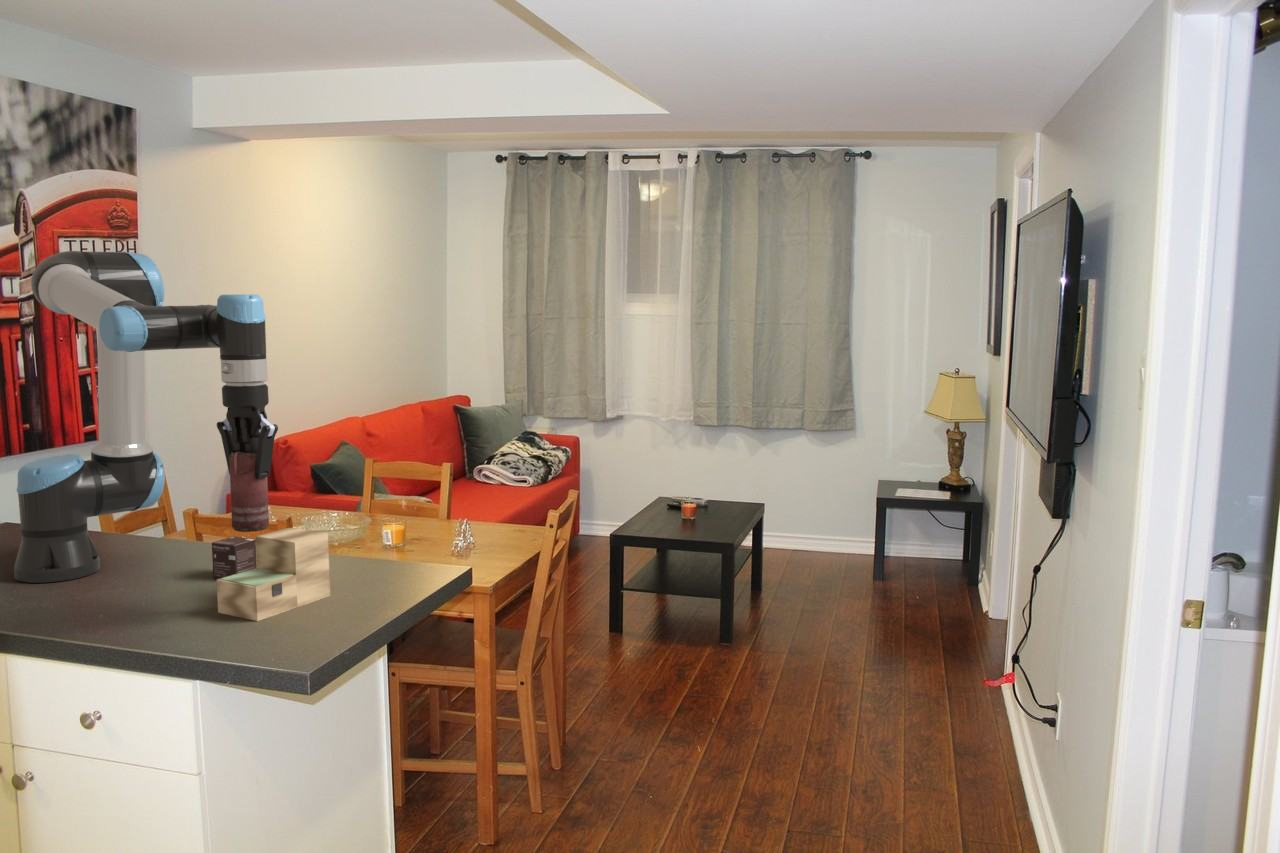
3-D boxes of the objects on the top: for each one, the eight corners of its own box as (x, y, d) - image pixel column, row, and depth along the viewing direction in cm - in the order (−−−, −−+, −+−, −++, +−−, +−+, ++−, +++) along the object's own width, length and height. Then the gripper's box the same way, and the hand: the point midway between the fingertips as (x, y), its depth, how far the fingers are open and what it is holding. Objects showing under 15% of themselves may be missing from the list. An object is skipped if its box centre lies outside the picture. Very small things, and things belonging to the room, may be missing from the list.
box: (212, 578, 205) (210, 542, 204) (234, 570, 211) (232, 535, 210) (236, 581, 203) (234, 545, 202) (258, 573, 209) (256, 538, 208)
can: (224, 531, 180) (220, 452, 178) (244, 523, 186) (242, 446, 184) (255, 533, 178) (252, 454, 176) (275, 525, 185) (273, 448, 183)
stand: (218, 612, 183) (214, 546, 182) (292, 588, 198) (289, 527, 196) (258, 621, 178) (255, 553, 177) (331, 596, 193) (328, 533, 192)
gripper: (200, 383, 179) (208, 517, 182) (253, 386, 173) (260, 524, 176) (236, 380, 185) (243, 509, 188) (288, 383, 179) (294, 516, 182)
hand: (251, 516), depth 182 cm, fingers closed
